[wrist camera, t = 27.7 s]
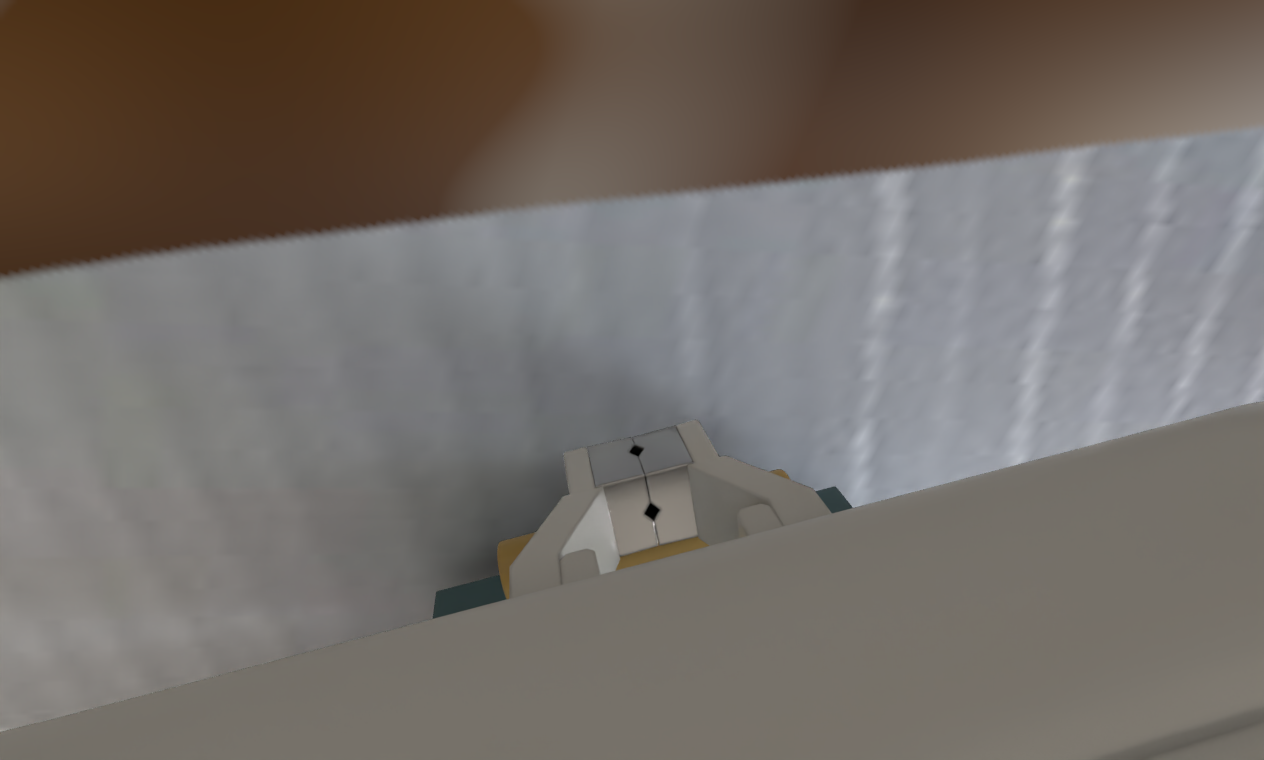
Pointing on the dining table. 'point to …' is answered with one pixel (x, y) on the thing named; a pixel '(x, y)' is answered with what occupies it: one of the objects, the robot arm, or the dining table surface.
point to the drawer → (511, 548)
